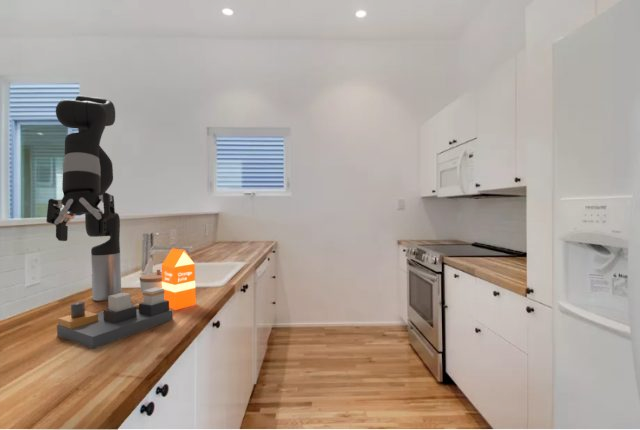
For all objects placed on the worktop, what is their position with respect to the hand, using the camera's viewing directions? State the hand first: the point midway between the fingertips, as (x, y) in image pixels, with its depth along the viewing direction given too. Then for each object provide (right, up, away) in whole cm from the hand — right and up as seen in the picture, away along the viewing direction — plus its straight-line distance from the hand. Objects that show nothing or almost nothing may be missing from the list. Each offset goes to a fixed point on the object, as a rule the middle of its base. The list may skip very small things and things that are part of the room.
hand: (81, 238), depth 75 cm
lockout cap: (-10, -24, +11) cm, 28 cm away
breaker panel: (-1, -27, +15) cm, 31 cm away
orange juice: (+7, -27, +36) cm, 45 cm away
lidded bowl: (-4, -27, +44) cm, 52 cm away
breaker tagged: (+7, -21, +19) cm, 30 cm away
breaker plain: (0, -22, +14) cm, 26 cm away
